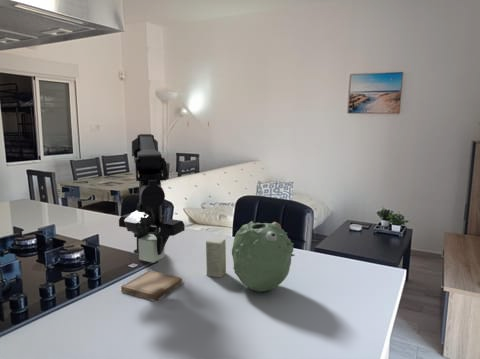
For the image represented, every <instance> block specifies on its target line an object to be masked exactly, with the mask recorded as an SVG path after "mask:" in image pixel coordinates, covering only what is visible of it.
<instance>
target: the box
mask: <svg viewBox="0 0 480 359" xmlns="http://www.w3.org/2000/svg"><path fill="white" fill-rule="evenodd" d="M226 241H227V240H226V239H225V238H216V237H211V238H209V239H208V240H206V241H205V255H206V276H207V277H214V278H215V277H216V278H222V277H223V276H224V275H225V274H226V272H227V261H226V260H227V257H226V256H227V255H226V253H227V252H226V251H227V247H226Z"/></svg>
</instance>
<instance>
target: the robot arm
mask: <svg viewBox="0 0 480 359" xmlns="http://www.w3.org/2000/svg"><path fill="white" fill-rule="evenodd" d="M131 157H133V159H134V165H135V181H136V182H139V188H138V189H139V202H138V203H136V207H135V211H133V212H130V213H126V214H124V215H121V216H120V218H119V219H118V227H119V228H125V229H126V231H127V232H131V233H133V237H134V238H136V249H134V250H133V253H137V254H139V240H138V239H140V238H142V237H144V236H147V235H149V234H153V235H155V236H156V238H157V252H158V255H161V253H162V251H163V249H164V250H165V247H166V244H167V242H168V240H169V238H170V237H173V236H176V235H178V234H181V233H182V232H184V231H185V230H186V229H185V227H186V226H185V223H184V221H183V220H178V219H169V220H167V221H164V220H165V215H162V207H163V206H165V200H166V199H165V198H166V193H165V191H164V188H163V187H162V182H161V181H166V180H167V178H168V175H169V172H168V165H167V161H166V159H165V157H162V152H160V151H159V143H158V140H157V139H155V136H154V134H152V133H139V134H137V137H136V138H135V139H133V140H132V141H131Z"/></svg>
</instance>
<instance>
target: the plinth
mask: <svg viewBox="0 0 480 359" xmlns="http://www.w3.org/2000/svg"><path fill="white" fill-rule="evenodd" d="M182 283H183V278H182V277H180V276H179V277H178V276H175V275H169V274H167V273H166V274H165V273H161V272H157V271H153V270H148V271H146V272H144V273H142V274H140V275H138V276H136V277H135V278H133V279H132V280H129V281H127V282H126V283H124V284H123V285H122V286H121V287H120V288H121V290H120V291H121V292H122V293H126V294H130V295H133V296H138V297H140V298H145V299H149V300H151V301H155V302H157V301H159V300H160V299H161V298H163V297H164V296H166V295H167V294H168V293H170V292H171V291H173V290H174V289H176V287H178V286H180V285H181V284H182Z"/></svg>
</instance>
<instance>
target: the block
mask: <svg viewBox="0 0 480 359" xmlns="http://www.w3.org/2000/svg"><path fill="white" fill-rule="evenodd" d="M138 240H139V253H138V260H139V261H144V262H147V263H156V262H157V261H159V260H161V259H163V258H164V257H165V248H164V249H163V251H162V253H161V255H158V252H157V238H156V236H155V235H153V234H149V235H147V236H144V237H142V238H140V239H138Z"/></svg>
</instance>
